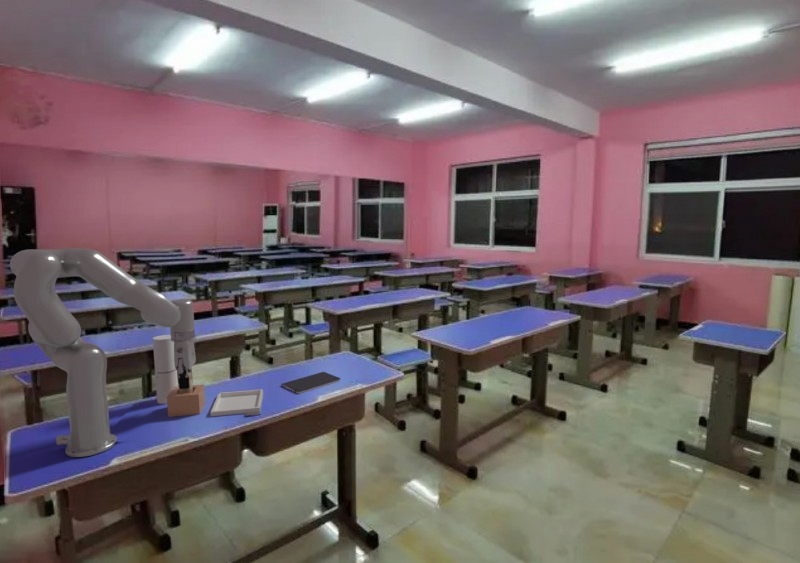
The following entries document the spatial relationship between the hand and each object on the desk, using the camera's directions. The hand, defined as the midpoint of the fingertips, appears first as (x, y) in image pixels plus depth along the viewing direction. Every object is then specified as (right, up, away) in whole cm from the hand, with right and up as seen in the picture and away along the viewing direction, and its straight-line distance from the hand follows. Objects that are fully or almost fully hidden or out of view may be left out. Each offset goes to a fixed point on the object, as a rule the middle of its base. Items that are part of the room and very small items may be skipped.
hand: (186, 385), depth 154 cm
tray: (+16, -9, +6) cm, 20 cm away
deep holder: (0, -10, +1) cm, 10 cm away
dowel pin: (0, -9, +1) cm, 9 cm away
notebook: (+38, -7, +30) cm, 49 cm away
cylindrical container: (-11, -9, +10) cm, 17 cm away
